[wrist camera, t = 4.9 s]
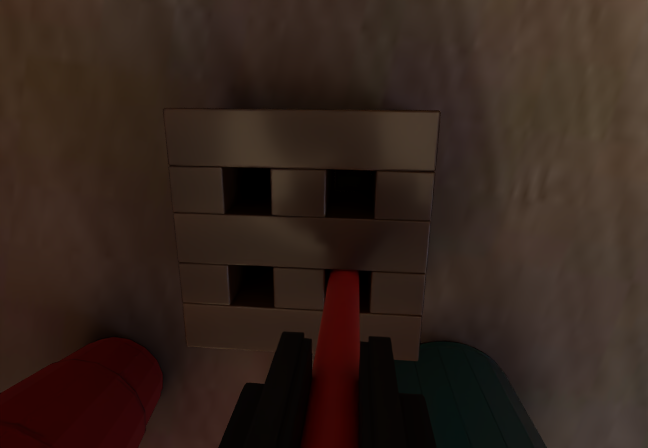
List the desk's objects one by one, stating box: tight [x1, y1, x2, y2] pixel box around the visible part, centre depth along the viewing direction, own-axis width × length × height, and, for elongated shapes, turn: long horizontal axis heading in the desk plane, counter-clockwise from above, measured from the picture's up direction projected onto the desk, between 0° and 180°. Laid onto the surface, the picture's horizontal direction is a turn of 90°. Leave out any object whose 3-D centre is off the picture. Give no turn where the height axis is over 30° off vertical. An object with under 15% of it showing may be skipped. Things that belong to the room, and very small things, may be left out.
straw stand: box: [163, 108, 441, 361], centre depth 18 cm, size 10×10×6 cm
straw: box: [300, 269, 360, 448], centre depth 11 cm, size 1×1×14 cm
